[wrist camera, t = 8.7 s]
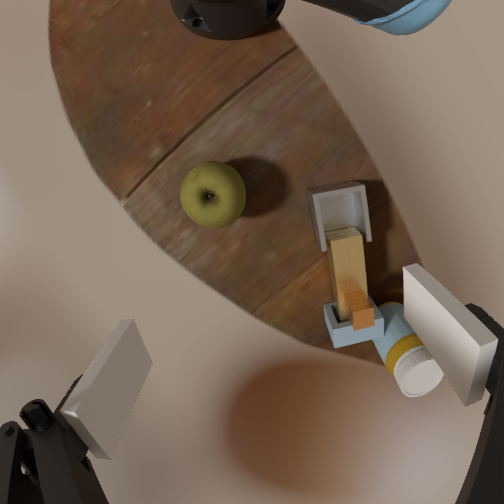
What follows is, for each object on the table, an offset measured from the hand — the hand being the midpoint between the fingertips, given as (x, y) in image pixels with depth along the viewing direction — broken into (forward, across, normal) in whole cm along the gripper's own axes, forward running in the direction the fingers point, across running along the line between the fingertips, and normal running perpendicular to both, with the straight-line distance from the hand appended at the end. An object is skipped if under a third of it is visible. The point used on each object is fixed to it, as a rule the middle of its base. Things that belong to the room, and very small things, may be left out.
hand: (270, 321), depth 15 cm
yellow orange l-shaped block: (+28, +9, -11) cm, 31 cm away
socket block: (+29, +9, -18) cm, 35 cm away
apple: (+29, -5, +3) cm, 30 cm away
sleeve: (+29, +9, -2) cm, 30 cm away
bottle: (+29, +15, -21) cm, 39 cm away
